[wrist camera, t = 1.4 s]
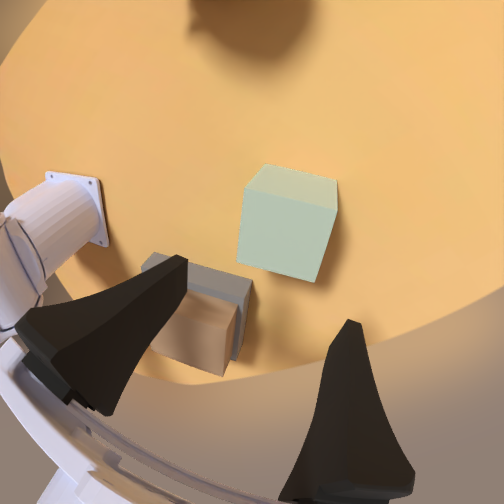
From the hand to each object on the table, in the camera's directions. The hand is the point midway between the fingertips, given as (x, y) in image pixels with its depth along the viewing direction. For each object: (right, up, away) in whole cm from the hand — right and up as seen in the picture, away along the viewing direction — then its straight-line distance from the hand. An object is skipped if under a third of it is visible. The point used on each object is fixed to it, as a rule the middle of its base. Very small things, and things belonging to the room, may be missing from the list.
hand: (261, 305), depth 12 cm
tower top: (-6, -4, +14) cm, 16 cm away
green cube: (+3, +6, +8) cm, 10 cm away
